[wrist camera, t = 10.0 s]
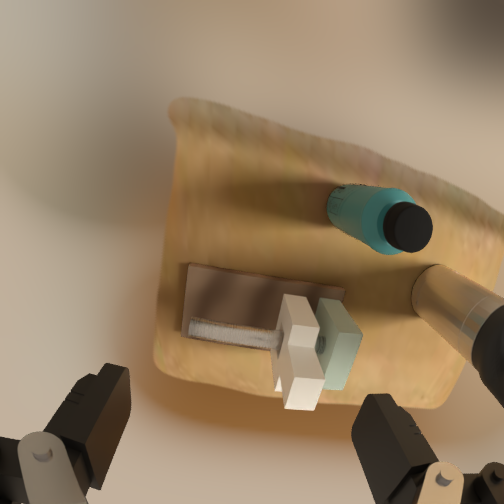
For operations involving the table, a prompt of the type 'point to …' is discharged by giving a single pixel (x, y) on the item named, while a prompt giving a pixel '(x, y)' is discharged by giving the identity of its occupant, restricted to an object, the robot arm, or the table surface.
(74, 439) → the robot arm
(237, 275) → the pipe board
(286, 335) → the white stepped block
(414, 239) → the beverage bottle
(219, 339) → the steel pipe
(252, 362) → the table surface
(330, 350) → the mount block
